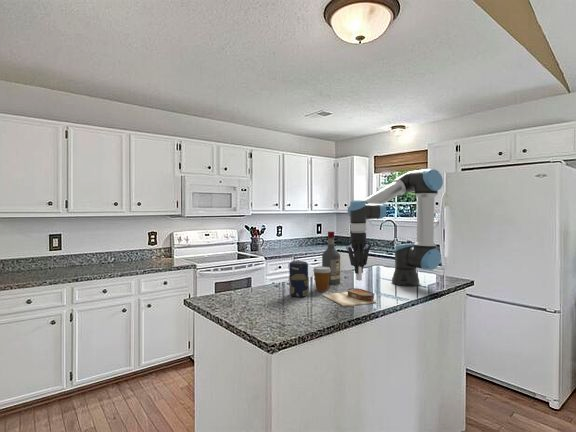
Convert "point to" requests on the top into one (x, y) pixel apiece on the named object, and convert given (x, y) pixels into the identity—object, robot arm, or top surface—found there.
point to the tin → (361, 294)
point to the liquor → (332, 260)
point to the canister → (298, 278)
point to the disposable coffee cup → (322, 277)
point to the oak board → (346, 299)
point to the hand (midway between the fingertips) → (358, 279)
